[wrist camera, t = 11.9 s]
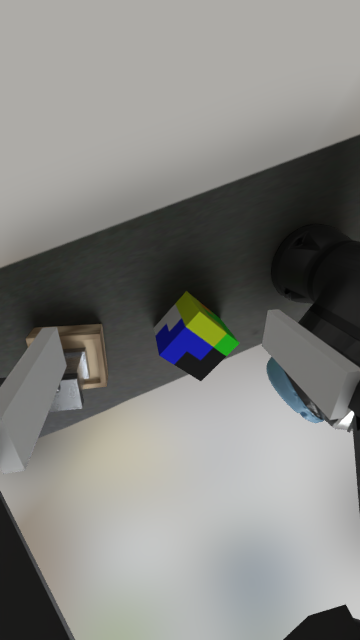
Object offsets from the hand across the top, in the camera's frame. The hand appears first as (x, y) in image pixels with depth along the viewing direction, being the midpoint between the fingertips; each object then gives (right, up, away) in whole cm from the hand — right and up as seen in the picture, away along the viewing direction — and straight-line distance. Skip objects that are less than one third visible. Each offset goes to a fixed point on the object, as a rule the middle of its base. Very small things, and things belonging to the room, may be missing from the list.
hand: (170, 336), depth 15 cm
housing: (-20, -7, +30) cm, 37 cm away
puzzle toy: (+2, 0, +35) cm, 35 cm away
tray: (-21, -5, +33) cm, 39 cm away
